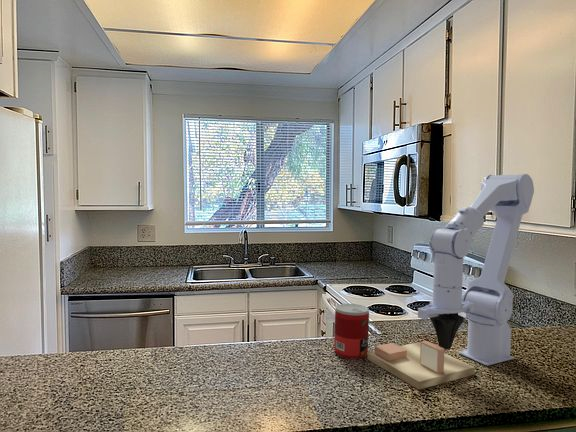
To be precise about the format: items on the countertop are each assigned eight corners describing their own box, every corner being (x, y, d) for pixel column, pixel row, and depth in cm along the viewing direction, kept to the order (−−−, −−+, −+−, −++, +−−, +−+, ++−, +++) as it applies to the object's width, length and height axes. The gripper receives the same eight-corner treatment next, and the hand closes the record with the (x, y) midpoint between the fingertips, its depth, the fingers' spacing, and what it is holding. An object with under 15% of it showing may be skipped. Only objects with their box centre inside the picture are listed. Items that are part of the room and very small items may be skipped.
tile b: (425, 363, 89) (426, 340, 89) (443, 372, 85) (444, 348, 84) (419, 364, 88) (420, 341, 88) (437, 373, 84) (438, 349, 84)
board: (419, 348, 102) (419, 342, 102) (474, 374, 88) (474, 367, 88) (367, 359, 95) (367, 352, 95) (418, 389, 80) (418, 381, 80)
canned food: (367, 361, 94) (369, 313, 93) (332, 357, 95) (333, 311, 95) (368, 348, 101) (369, 304, 100) (335, 345, 103) (336, 302, 102)
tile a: (391, 342, 96) (374, 346, 94) (406, 350, 92) (389, 354, 90) (391, 349, 96) (374, 353, 94) (406, 357, 92) (389, 361, 90)
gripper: (456, 278, 94) (453, 336, 95) (408, 284, 88) (405, 346, 88) (483, 285, 88) (480, 347, 89) (433, 291, 81) (430, 358, 82)
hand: (444, 347), depth 88 cm, fingers closed
